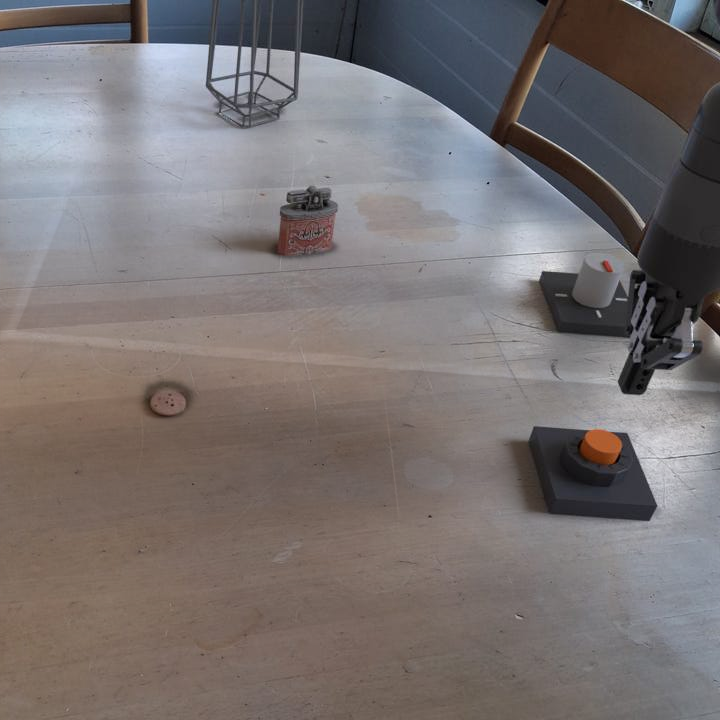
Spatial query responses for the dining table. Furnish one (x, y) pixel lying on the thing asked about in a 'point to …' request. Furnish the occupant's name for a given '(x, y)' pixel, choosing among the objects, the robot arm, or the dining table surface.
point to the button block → (589, 478)
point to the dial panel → (582, 308)
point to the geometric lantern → (253, 65)
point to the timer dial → (597, 280)
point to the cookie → (168, 403)
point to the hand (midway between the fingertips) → (629, 389)
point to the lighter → (307, 222)
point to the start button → (600, 447)
